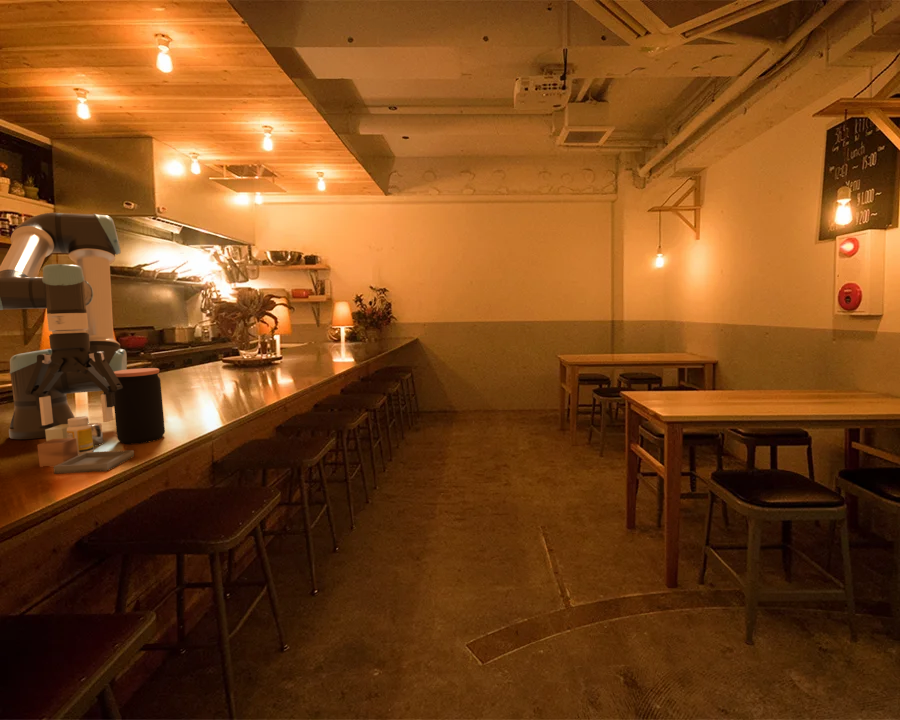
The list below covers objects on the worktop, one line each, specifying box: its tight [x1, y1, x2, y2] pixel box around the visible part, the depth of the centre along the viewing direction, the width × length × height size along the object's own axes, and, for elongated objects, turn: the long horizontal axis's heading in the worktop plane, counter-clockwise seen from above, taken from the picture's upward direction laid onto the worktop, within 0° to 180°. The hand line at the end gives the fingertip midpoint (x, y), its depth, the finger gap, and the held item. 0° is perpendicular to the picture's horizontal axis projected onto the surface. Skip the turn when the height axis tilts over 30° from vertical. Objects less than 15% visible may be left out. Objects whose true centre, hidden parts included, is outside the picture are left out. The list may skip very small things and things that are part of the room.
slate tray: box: [53, 449, 135, 475], centre depth 114 cm, size 11×11×2 cm
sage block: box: [45, 424, 69, 442], centre depth 132 cm, size 6×4×5 cm, turn 4°
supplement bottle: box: [67, 415, 95, 455], centre depth 124 cm, size 5×5×8 cm
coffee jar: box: [113, 367, 166, 445], centre depth 135 cm, size 11×11×18 cm
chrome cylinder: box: [88, 422, 104, 447], centre depth 132 cm, size 4×4×5 cm
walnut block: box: [36, 438, 78, 468], centre depth 116 cm, size 5×5×5 cm
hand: (78, 422), depth 123 cm, fingers open, 13 cm apart
